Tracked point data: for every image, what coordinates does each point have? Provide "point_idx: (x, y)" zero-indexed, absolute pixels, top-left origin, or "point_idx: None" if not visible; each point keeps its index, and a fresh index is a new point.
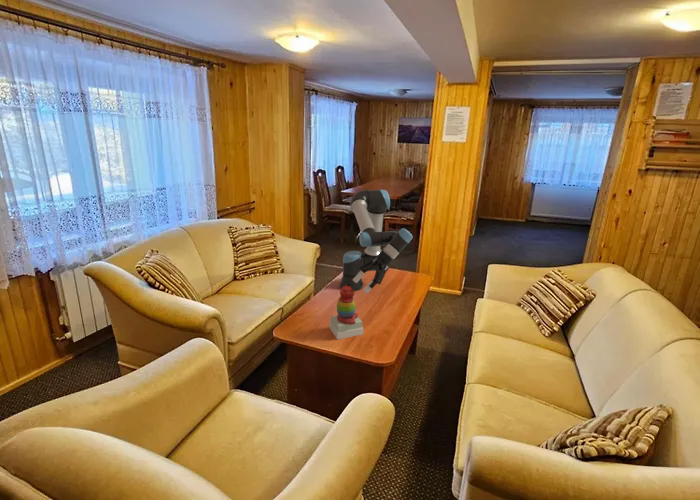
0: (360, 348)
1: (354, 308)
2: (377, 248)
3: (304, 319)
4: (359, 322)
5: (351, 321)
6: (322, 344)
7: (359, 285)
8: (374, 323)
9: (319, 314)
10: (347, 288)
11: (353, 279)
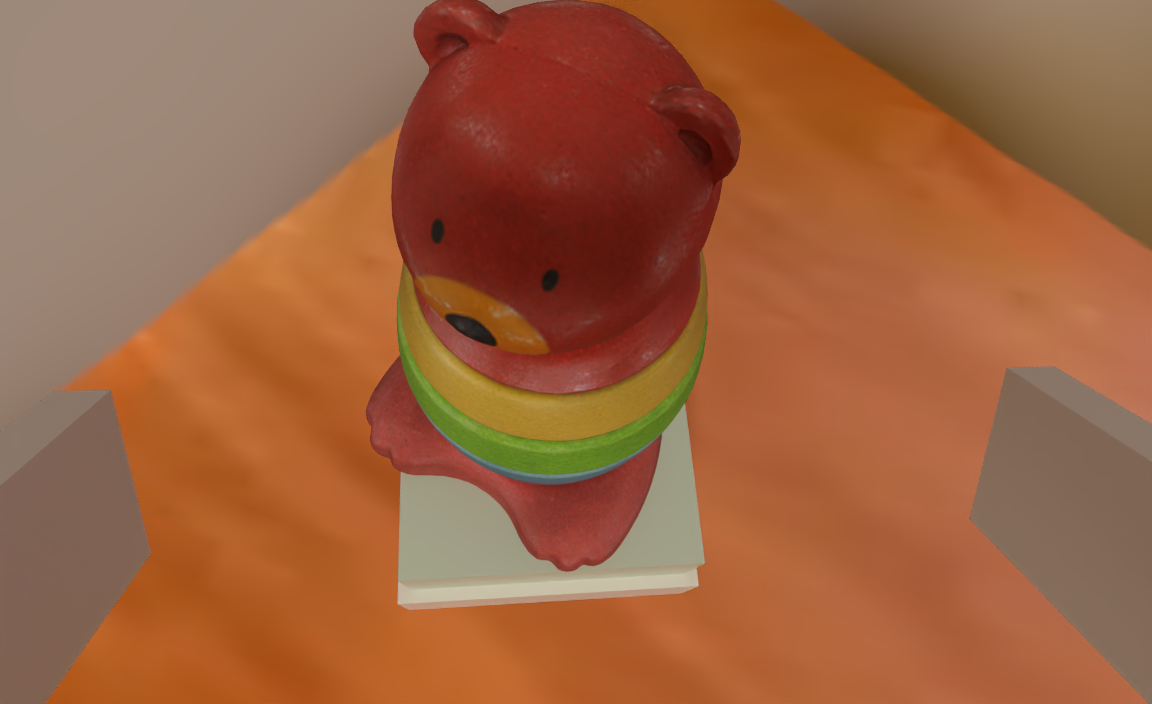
0: (159, 472)
1: (432, 418)
2: None
3: (863, 159)
4: (400, 535)
5: (378, 399)
6: (386, 181)
7: None
8: None
9: (948, 303)
10: (482, 66)
11: (1047, 382)
